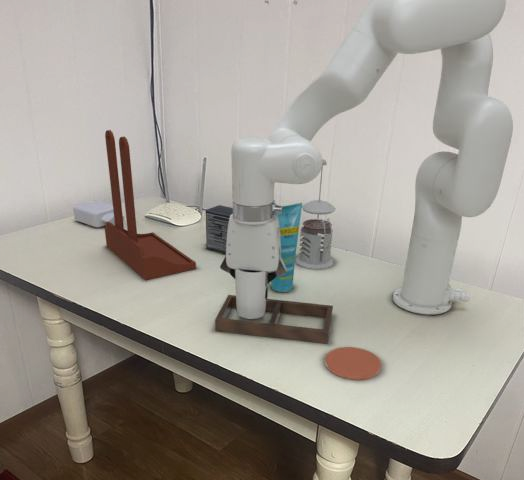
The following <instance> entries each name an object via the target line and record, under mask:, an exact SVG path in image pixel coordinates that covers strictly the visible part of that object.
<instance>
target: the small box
mask: <svg viewBox="0 0 524 480" xmlns="http://www.w3.org/2000/svg"><path fill="white" fill-rule="evenodd" d="M231 214H233V207H231V206H226V205H221V204H219V205H216V206H213V207H210V208H207V209H205V236H206V237H205V239H206V240H205V241H206V245H205V246H206V247H205V248H206V250H208V251H209V250H210V251H213V252H217V253H220V254H221V253H222V254H223V255H226V242H227V230H228V223H229V218H230V215H231Z"/></svg>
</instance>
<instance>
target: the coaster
mask: <svg viewBox="0 0 524 480" xmlns="http://www.w3.org/2000/svg"><path fill="white" fill-rule="evenodd" d="M324 365H325V367H326V369H328V371H329V372H330V373H332V374H334V375H336V376H337V377H340V378H343V379H348V380H354V381H355V380H356V381H361V380H362V381H363V380H367V379H371V378H374V377H375V376H377V375H378V374H379V373H380V372H381V369H382V362H381V360H380V358H379V357H378V356H377V355H376V354H374V353H372V352H371V351H369V350H366V349H363V348H360V347H359V348H358V347H352V346H347V347H346V346H344V347H337V348H334V349H332V350H330V351H328V353H327V354H326V355H325V358H324Z"/></svg>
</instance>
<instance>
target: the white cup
mask: <svg viewBox="0 0 524 480" xmlns="http://www.w3.org/2000/svg"><path fill="white" fill-rule="evenodd" d="M268 273H270V272H267V276H268ZM265 277H266V272H265V271H261V272H260V271H248V270H244V271H241V270H239V269H235V279H234V280H235V281H234V282H235V296H236V305H237V308H236V314H237V315H238V316H239V317H241V318H244V319H249V320H253V319H254V320H255V319H260V318H262V317H264V316H265V314H266V311H265V309H266V299H265V293H266V286H265Z"/></svg>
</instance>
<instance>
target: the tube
mask: <svg viewBox="0 0 524 480" xmlns="http://www.w3.org/2000/svg"><path fill="white" fill-rule="evenodd" d="M281 206H282V212H281V213H277V214H275V215H276V216H277V217H278V220H279V226H280V237H281V258H282V260H283V262H284V264H285V266H286V268H287V271H286V274H284V275H281V276H279V277H276V278H275V279H273V280H272V281H271V282H270V288H271V289H272V290H273V291H275V292H279V293H280V292H281V293H286V292H290V291H292V289H293V285H294V275H295V267H296V262H295V259H296V257H297V256H296V255H297V247H298V238H299V231H300V224H301V223H300V222H301V216H302V210H303V209H302V206H303V202H298V203H297V202H296V203H292V204H287V205H281Z"/></svg>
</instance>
